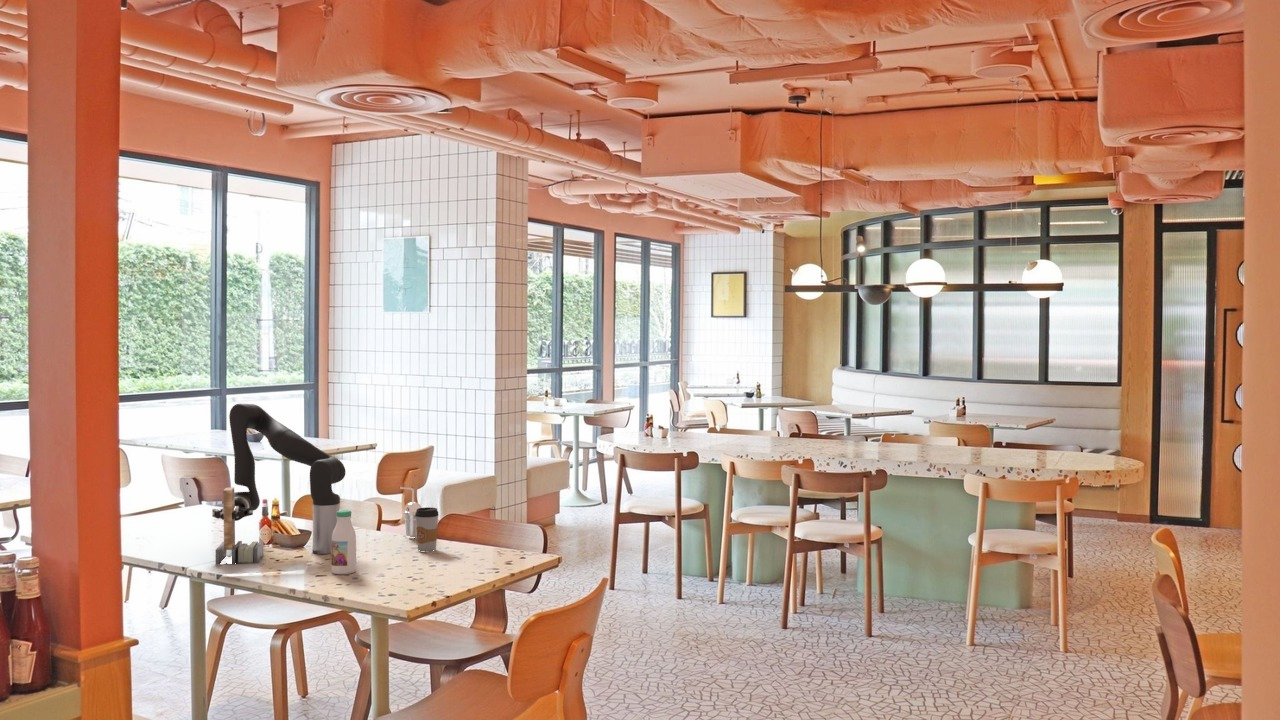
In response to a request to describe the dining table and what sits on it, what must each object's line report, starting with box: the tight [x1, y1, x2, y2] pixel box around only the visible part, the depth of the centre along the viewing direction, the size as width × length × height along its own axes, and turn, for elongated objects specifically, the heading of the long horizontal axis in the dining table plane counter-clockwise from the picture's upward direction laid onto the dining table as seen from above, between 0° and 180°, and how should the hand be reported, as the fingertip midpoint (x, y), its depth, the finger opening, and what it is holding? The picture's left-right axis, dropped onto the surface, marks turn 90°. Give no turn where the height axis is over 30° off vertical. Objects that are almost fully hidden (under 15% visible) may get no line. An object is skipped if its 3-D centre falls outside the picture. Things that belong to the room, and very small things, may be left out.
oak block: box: [222, 486, 236, 551], centre depth 327 cm, size 2×6×20 cm, turn 14°
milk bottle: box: [330, 509, 357, 575], centre depth 315 cm, size 8×8×20 cm
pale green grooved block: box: [238, 540, 259, 562], centre depth 329 cm, size 5×10×5 cm, turn 14°
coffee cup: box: [415, 507, 439, 552], centre depth 350 cm, size 8×8×15 cm
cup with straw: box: [398, 486, 423, 540], centre depth 373 cm, size 8×9×20 cm
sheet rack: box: [215, 539, 264, 565], centre depth 328 cm, size 13×14×6 cm
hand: (227, 516), depth 324 cm, fingers closed on oak block, 2 cm apart
